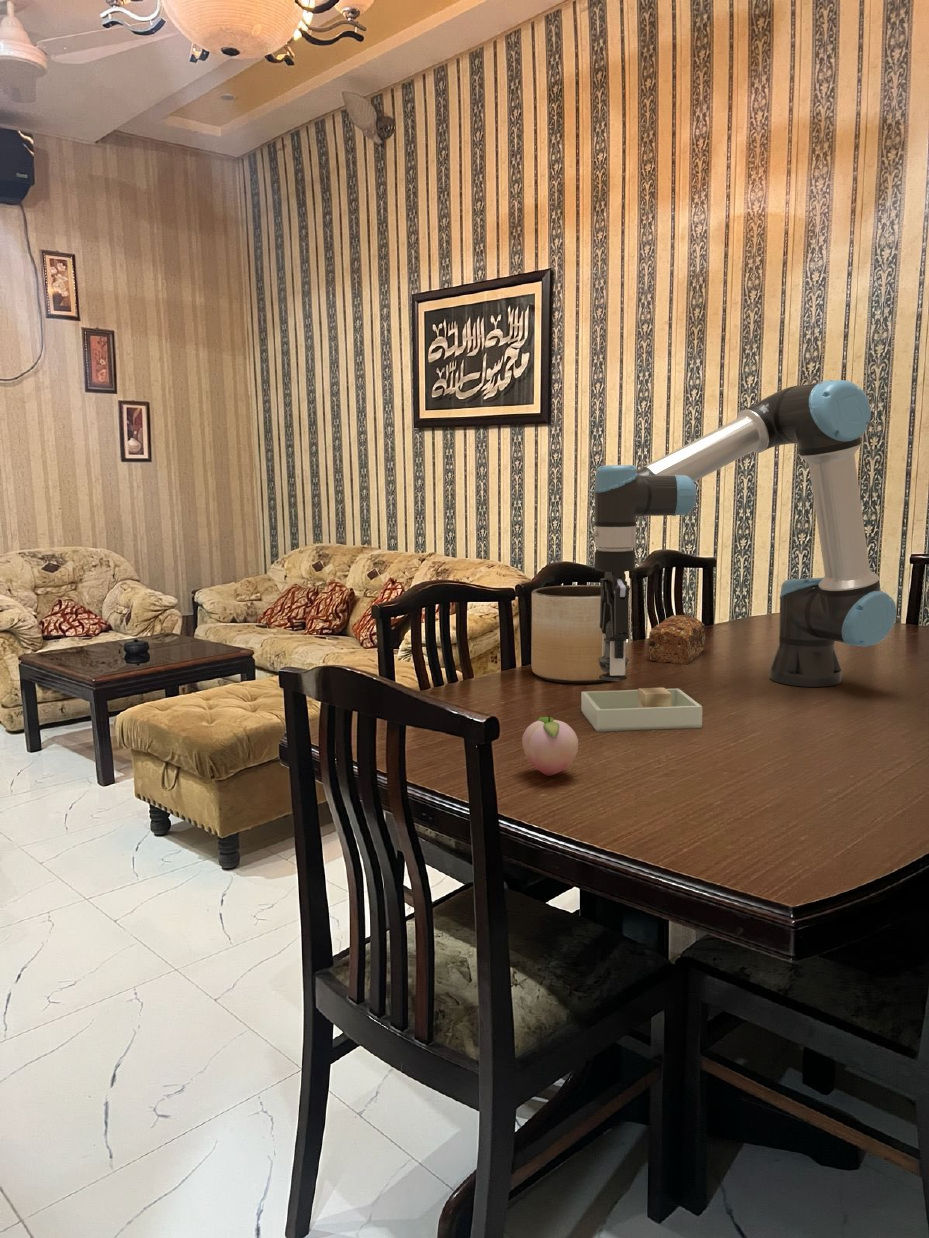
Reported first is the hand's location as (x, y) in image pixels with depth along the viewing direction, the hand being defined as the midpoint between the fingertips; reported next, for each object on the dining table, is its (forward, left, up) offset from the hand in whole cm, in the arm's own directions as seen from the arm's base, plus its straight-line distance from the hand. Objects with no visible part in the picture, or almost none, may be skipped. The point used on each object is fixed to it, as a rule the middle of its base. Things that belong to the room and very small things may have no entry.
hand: (613, 671), depth 170 cm
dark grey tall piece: (0, 0, -2) cm, 2 cm away
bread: (-30, -58, -10) cm, 66 cm away
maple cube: (-8, 0, -9) cm, 12 cm away
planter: (-1, -41, -10) cm, 42 cm away
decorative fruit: (+17, +30, -10) cm, 36 cm away
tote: (-5, 0, -10) cm, 11 cm away
